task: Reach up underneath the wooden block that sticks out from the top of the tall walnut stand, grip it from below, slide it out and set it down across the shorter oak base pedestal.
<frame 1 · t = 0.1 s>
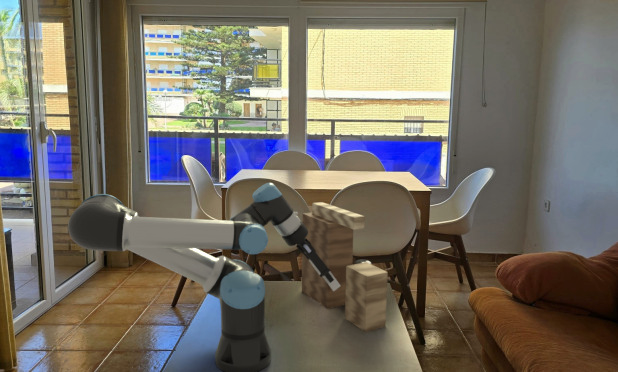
hand: (329, 280, 148), 15 cm above the table, tool tilted 35°, fingers open, 13 cm apart
stand: (325, 297, 173), on the table
medicine bottle: (362, 291, 179), on the table
base pedestal: (364, 322, 153), on the table
wooden block: (336, 220, 163), point 30 cm above the table, touching stand
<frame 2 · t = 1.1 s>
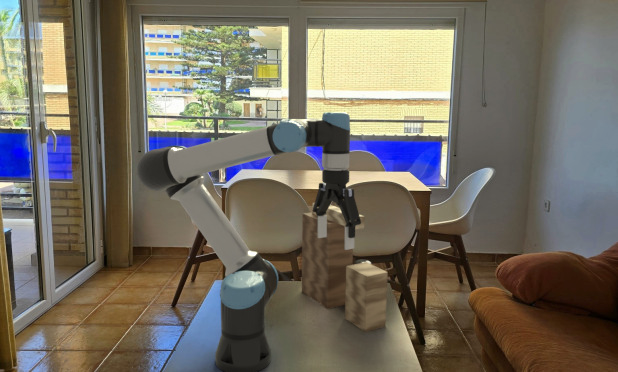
hand: (335, 242, 135), 31 cm above the table, tool pointing down, fingers open, 13 cm apart
nothing on the table moved.
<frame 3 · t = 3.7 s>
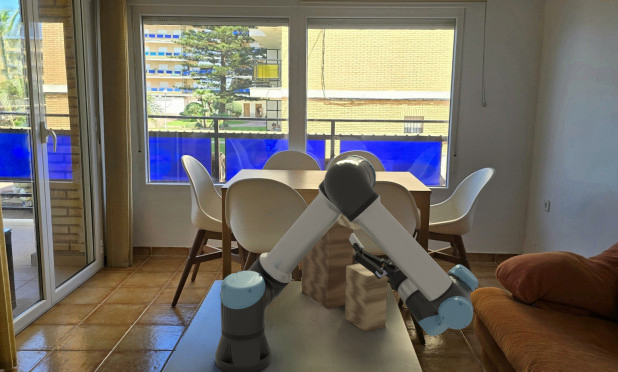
hand: (368, 233, 148), 30 cm above the table, tool pointing upward, fingers open, 13 cm apart
nothing on the table moved.
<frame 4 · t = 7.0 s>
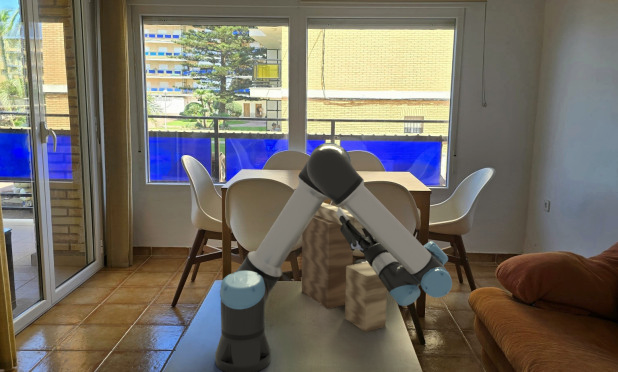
hand: (344, 209, 159), 35 cm above the table, tool pointing upward, fingers closed on wooden block, 4 cm apart
wooden block: (336, 220, 163), point 30 cm above the table, touching gripper, stand
everything else where it was.
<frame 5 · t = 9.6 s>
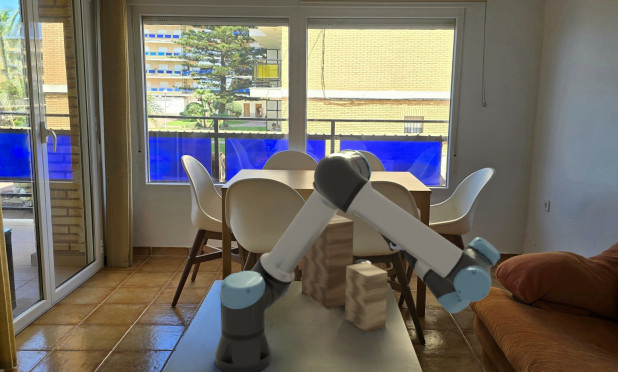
hand: (378, 205, 143), 40 cm above the table, tool pointing upward, fingers closed on wooden block, 4 cm apart
wooden block: (369, 217, 147), point 35 cm above the table, touching gripper
everything else where it was.
when the fingers open (25 cm above the table, at t = 12.5 s): wooden block drops 2 cm, resting on base pedestal.
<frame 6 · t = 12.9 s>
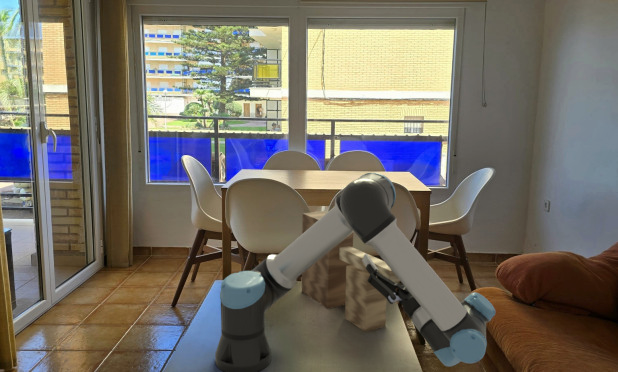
hand: (379, 254, 144), 25 cm above the table, tool pointing upward, fingers open, 10 cm apart
wooden block: (367, 269, 150), point 18 cm above the table, touching base pedestal
everything else where it was.
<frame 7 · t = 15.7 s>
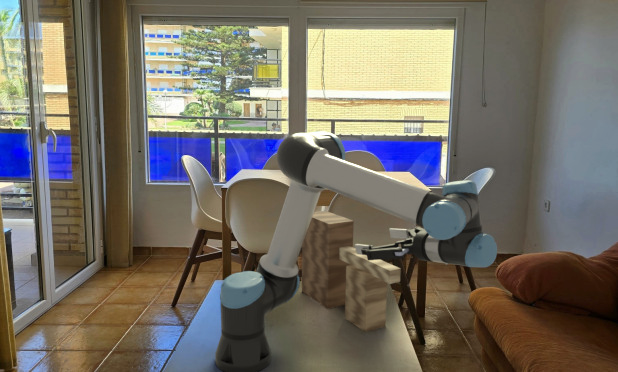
hand: (374, 240, 134), 32 cm above the table, tool horizontal, fingers open, 13 cm apart
nothing on the table moved.
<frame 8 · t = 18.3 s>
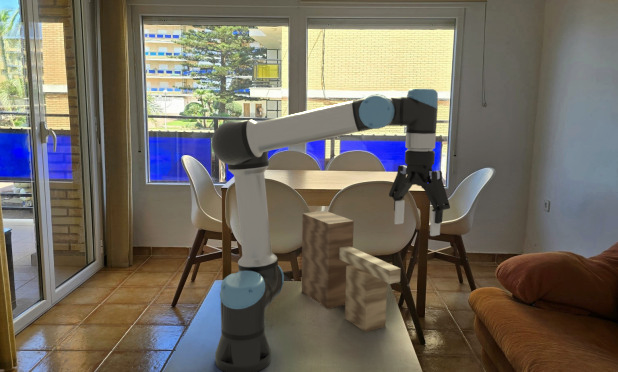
hand: (416, 229, 126), 37 cm above the table, tool pointing down, fingers open, 13 cm apart
nothing on the table moved.
at the end: wooden block inside the target area on the base pedestal (0.6 cm from its centre), point 18.0 cm above the base pedestal's base; the gripper is holding nothing; wooden block touching base pedestal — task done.
